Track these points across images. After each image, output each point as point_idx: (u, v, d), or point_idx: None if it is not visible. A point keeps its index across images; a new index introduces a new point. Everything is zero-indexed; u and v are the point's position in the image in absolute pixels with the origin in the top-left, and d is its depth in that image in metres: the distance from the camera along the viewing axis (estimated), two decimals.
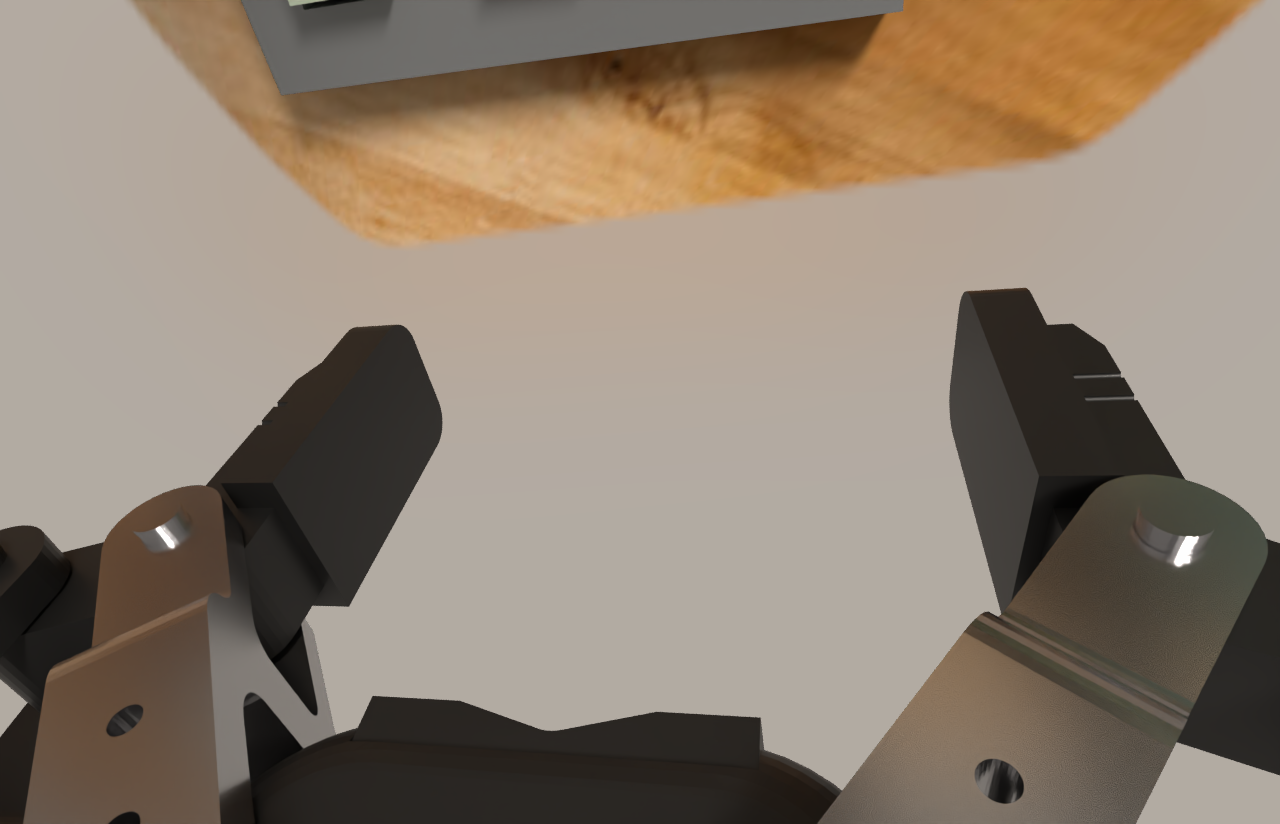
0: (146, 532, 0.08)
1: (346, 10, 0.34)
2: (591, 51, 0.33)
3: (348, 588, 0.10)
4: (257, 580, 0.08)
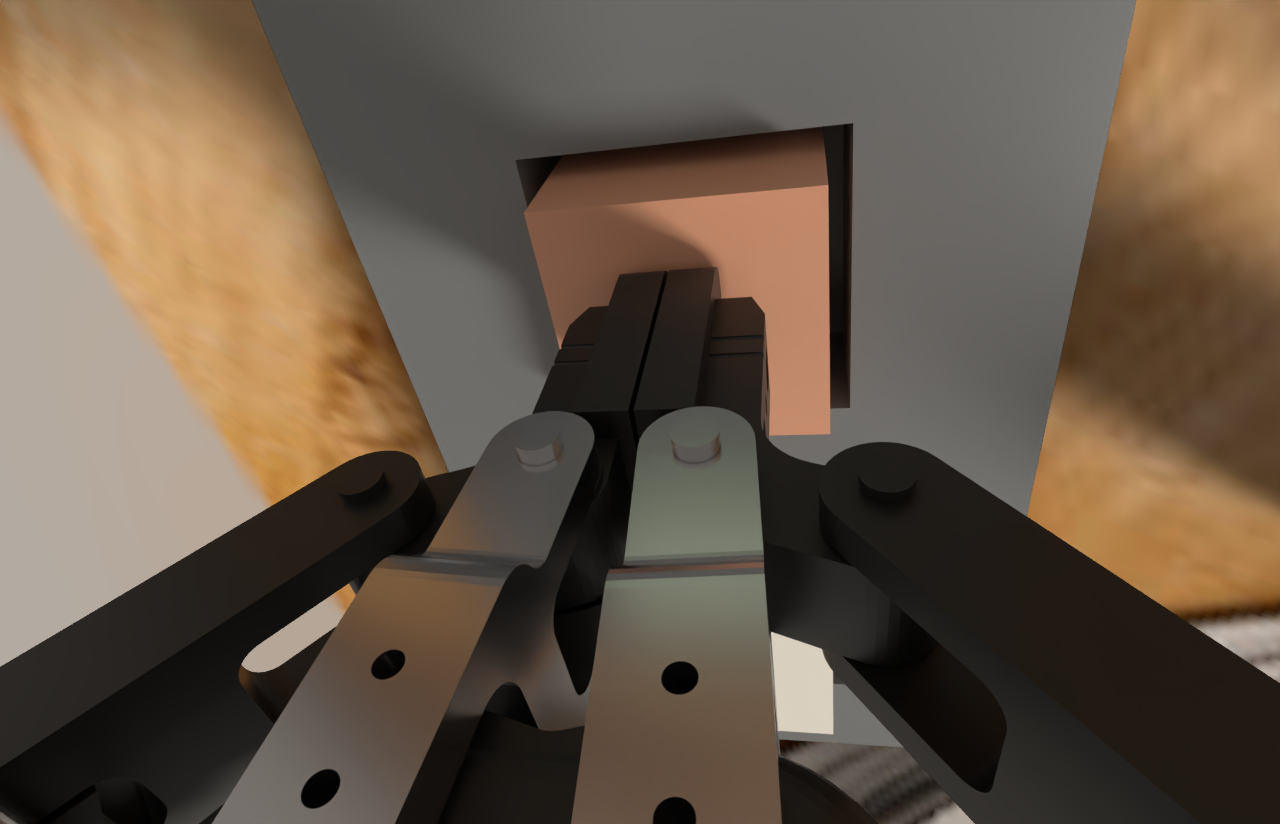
0: (520, 449, 0.08)
1: None
2: (409, 370, 0.15)
3: None
4: (614, 508, 0.08)
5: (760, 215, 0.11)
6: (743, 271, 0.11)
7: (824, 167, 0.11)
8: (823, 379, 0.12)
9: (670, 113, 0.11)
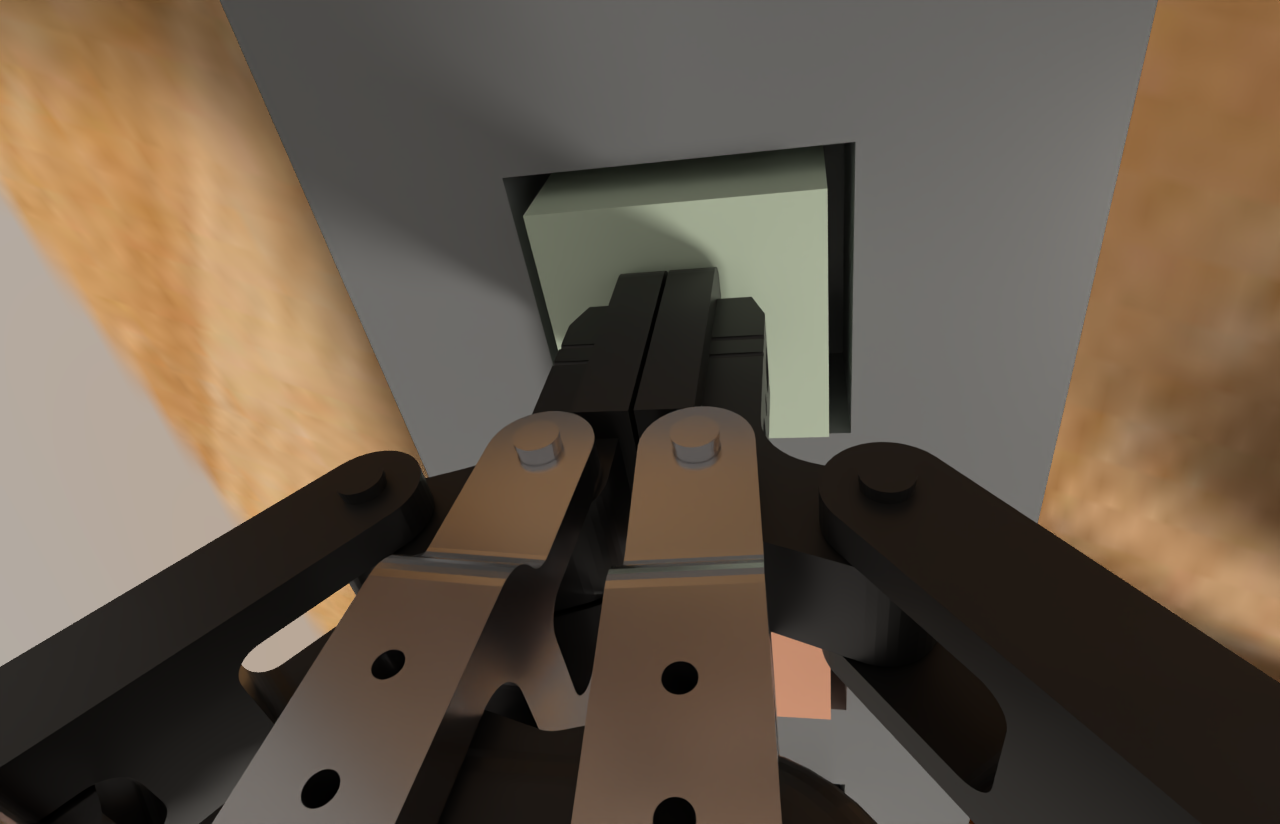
0: (521, 449, 0.08)
1: (518, 296, 0.13)
2: None
3: None
4: (613, 507, 0.08)
5: None
6: (772, 638, 0.17)
7: None
8: (825, 692, 0.18)
9: None
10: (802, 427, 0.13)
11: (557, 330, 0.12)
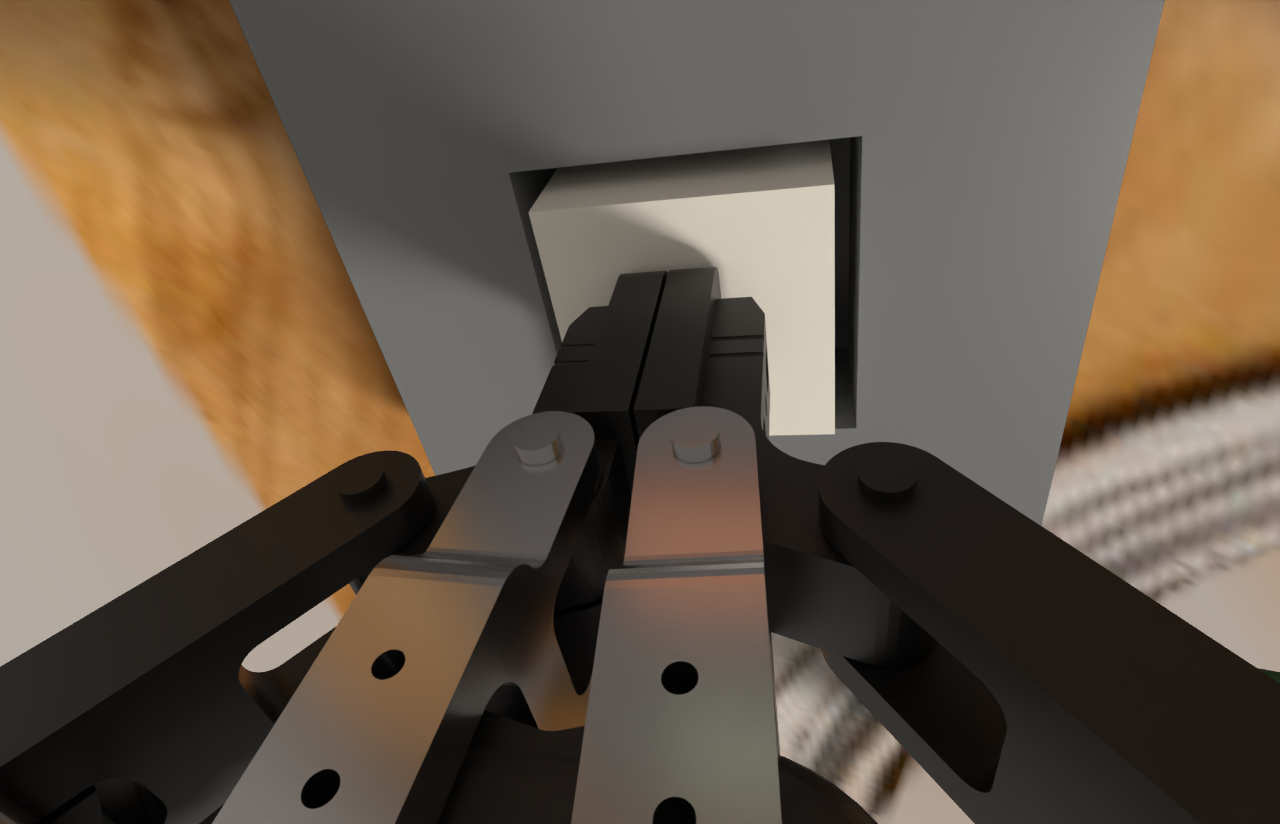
0: (521, 450, 0.08)
1: None
2: None
3: None
4: (614, 507, 0.08)
5: None
6: None
7: None
8: None
9: None
10: None
11: None
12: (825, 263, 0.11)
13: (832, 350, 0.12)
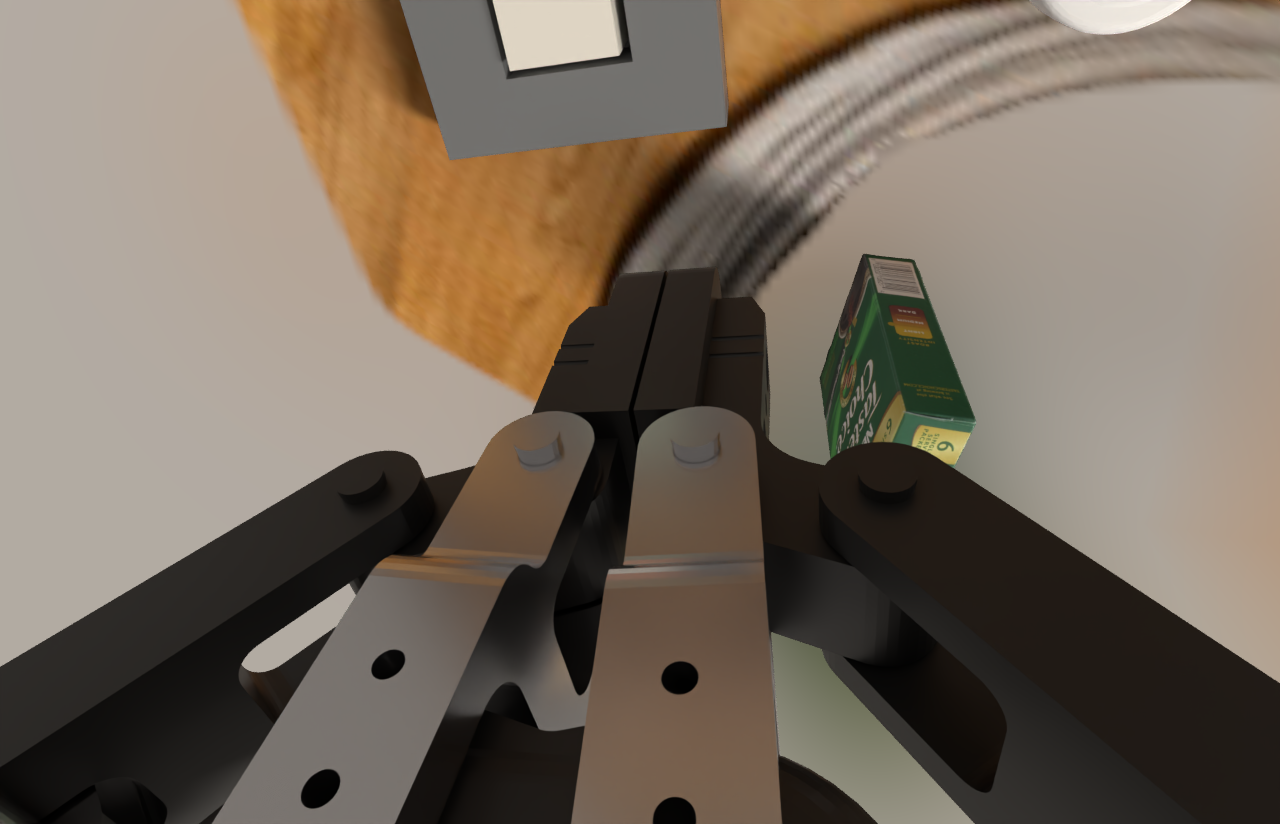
0: (521, 450, 0.08)
1: None
2: None
3: None
4: (614, 508, 0.08)
5: None
6: None
7: None
8: None
9: None
10: None
11: None
12: None
13: (610, 6, 0.28)
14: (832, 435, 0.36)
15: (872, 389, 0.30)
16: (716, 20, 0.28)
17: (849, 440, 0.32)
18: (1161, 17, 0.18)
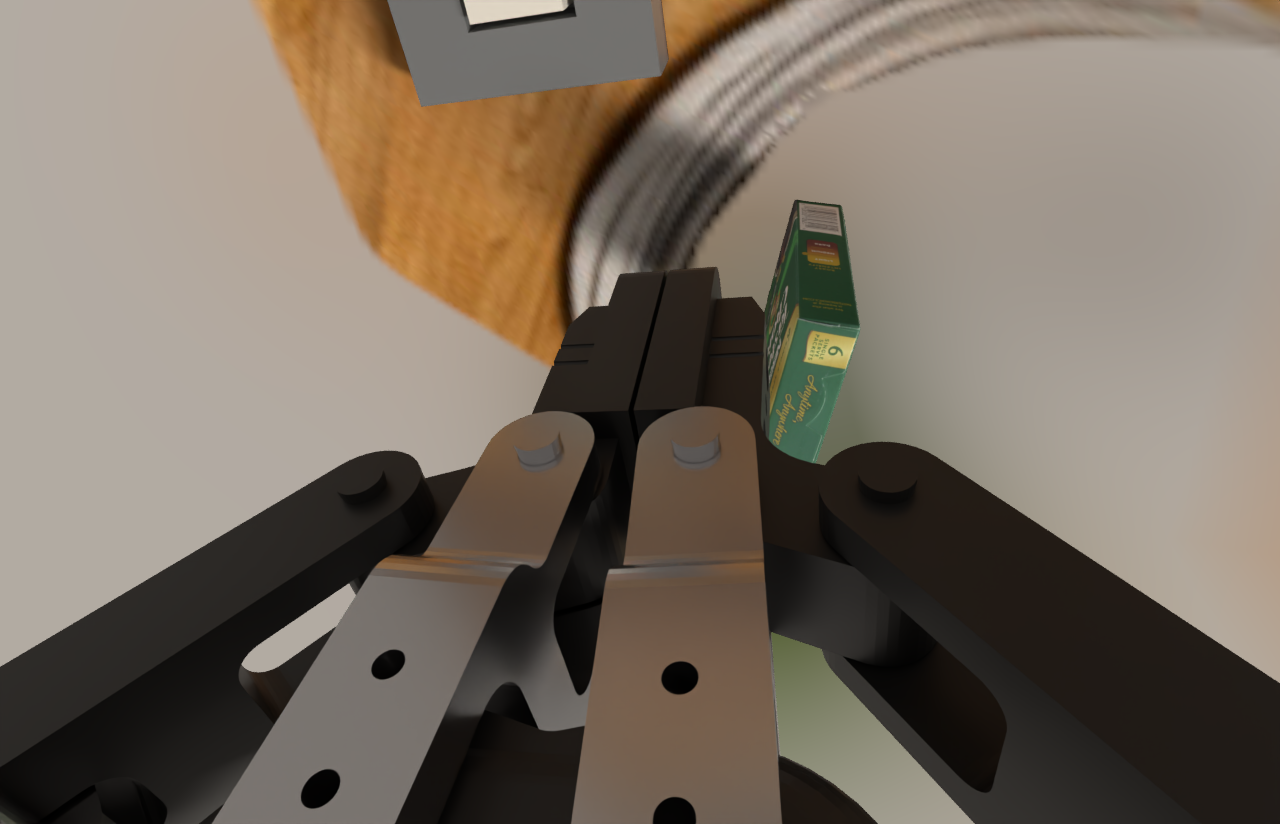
0: (520, 449, 0.08)
1: None
2: None
3: None
4: (614, 507, 0.08)
5: None
6: None
7: None
8: None
9: None
10: None
11: None
12: None
13: None
14: None
15: (784, 309, 0.34)
16: None
17: (769, 359, 0.36)
18: None
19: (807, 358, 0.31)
